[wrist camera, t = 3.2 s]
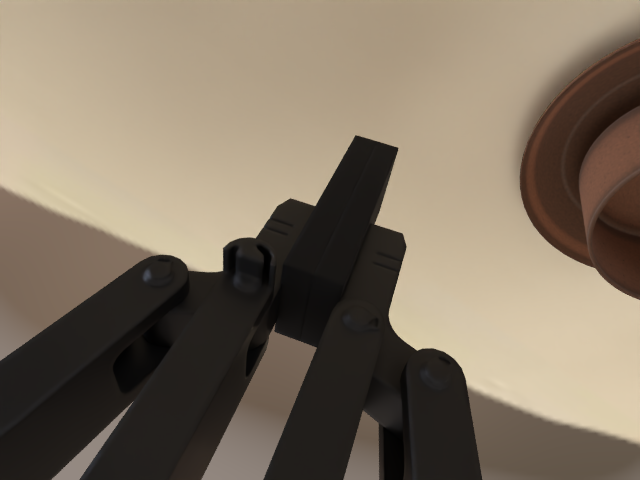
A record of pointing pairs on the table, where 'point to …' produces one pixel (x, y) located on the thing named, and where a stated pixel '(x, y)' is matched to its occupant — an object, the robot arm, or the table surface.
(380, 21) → the table surface
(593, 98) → the cup and saucer
